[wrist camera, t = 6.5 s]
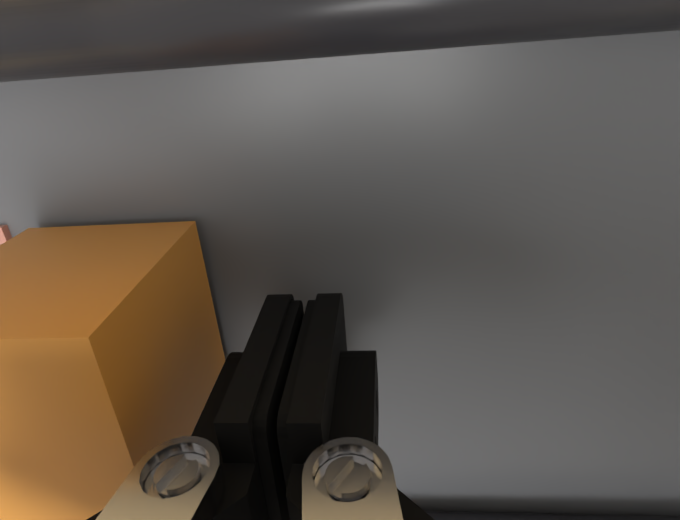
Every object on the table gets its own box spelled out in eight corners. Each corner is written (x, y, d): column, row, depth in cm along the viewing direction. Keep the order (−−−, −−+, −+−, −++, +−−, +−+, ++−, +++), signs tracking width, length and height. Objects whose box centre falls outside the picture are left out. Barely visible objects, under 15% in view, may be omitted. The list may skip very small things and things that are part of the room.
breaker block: (1008, -175, 9) (1356, -281, 6) (738, 510, 17) (822, 629, 14) (-100, -53, 11) (-293, -79, 8) (115, 499, 19) (61, 597, 16)
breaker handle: (195, 221, 11) (88, 337, 7) (239, 424, 14) (178, 594, 10) (28, 227, 12) (-162, 342, 8) (101, 424, 14) (-11, 586, 10)
